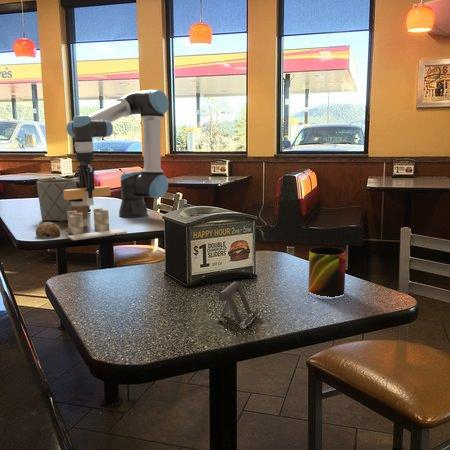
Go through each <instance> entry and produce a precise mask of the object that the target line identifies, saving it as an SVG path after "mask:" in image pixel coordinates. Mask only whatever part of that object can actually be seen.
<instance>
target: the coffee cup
mask: <svg viewBox="0 0 450 450" xmlns="http://www.w3.org/2000/svg"><path fill="white" fill-rule="evenodd" d="M70 201H71V209H72V211H77V213H82V216H83V228H84V227H88V209H89V208H88V207H89V206H87V204H83V198H82V199H73V200H70Z"/></svg>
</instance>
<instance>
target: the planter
mask: <svg viewBox="0 0 450 450" xmlns="http://www.w3.org/2000/svg"><path fill="white" fill-rule="evenodd" d="M36 189H37V194H38V196H37V197H38V201H39V202H38V203H39V208H40V216H41V220H42V222H44V221H58V222H60V223H64V222H66V221H67V222H68V214H67V212H69V211H72V209H71V201H70V200H65V199H64V194H63V190H68V189H77V180H76V179H69V178H60V179H59V178H57V179H44V180H43V179H42V180H37V181H36Z"/></svg>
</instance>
